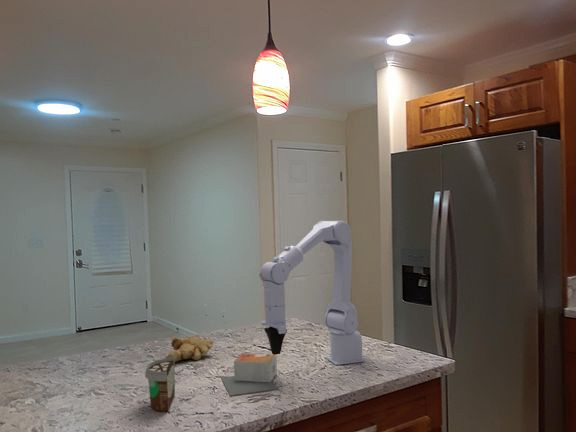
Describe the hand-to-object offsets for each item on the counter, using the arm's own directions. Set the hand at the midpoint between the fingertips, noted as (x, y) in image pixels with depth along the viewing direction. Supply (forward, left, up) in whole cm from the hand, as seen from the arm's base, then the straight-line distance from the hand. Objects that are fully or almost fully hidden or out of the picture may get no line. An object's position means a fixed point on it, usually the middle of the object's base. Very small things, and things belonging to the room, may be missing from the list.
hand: (276, 353), depth 131 cm
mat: (+8, 0, -7) cm, 11 cm away
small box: (0, -1, -4) cm, 5 cm away
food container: (+32, +6, -8) cm, 33 cm away
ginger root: (+21, -32, -8) cm, 39 cm away
